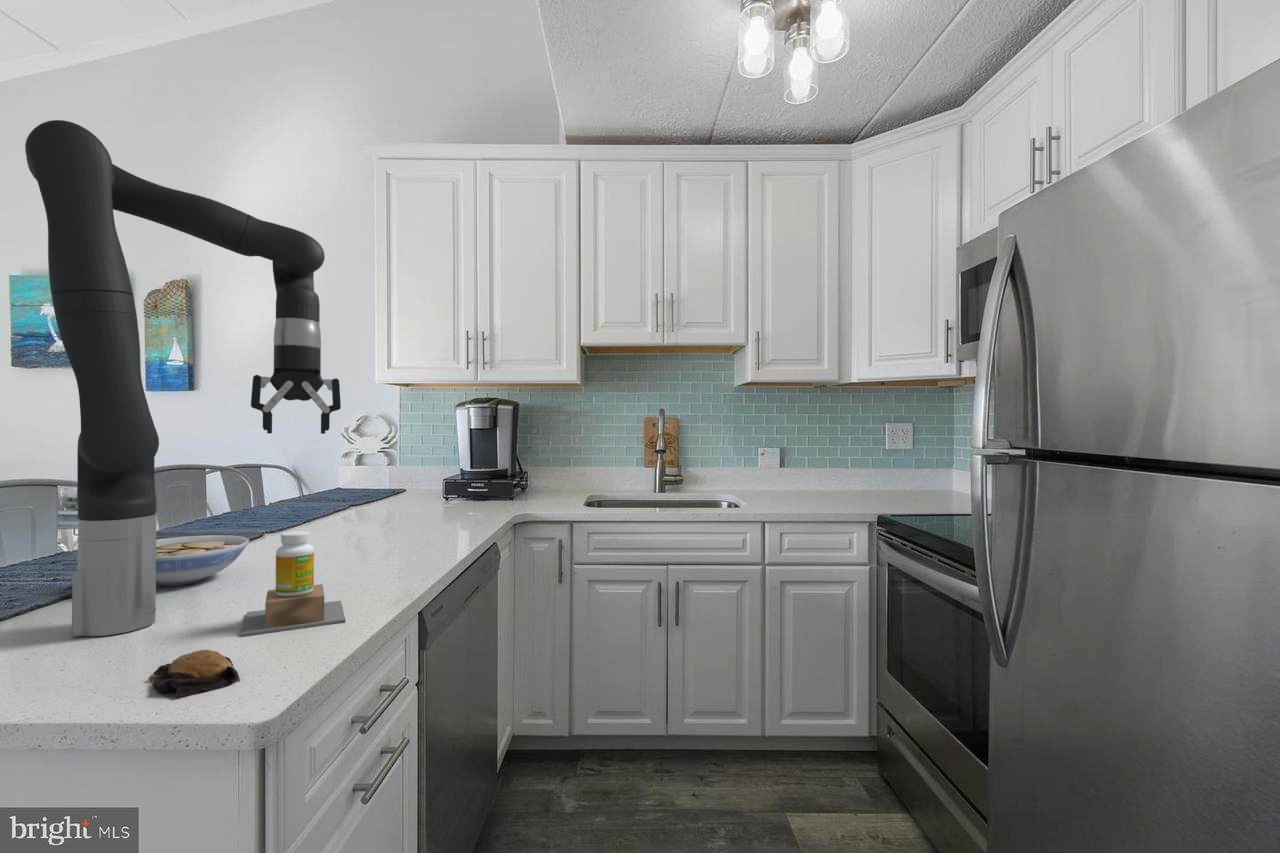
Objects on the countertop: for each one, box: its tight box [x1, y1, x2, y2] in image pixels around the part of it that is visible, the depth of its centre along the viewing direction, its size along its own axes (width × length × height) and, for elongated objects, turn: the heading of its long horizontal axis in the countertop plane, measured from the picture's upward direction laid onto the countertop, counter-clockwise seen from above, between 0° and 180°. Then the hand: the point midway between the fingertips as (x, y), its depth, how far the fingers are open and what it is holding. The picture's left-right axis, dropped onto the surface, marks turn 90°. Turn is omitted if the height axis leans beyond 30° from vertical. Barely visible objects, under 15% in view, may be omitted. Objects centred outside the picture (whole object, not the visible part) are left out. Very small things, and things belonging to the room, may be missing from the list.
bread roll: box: [149, 649, 241, 701], centre depth 74 cm, size 11×8×4 cm
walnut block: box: [264, 583, 325, 629], centre depth 97 cm, size 8×8×4 cm
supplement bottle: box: [275, 530, 315, 597], centre depth 97 cm, size 5×5×10 cm
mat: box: [240, 600, 346, 637], centre depth 98 cm, size 14×12×1 cm
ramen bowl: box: [156, 534, 250, 587], centre depth 120 cm, size 25×23×8 cm
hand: (296, 433), depth 110 cm, fingers open, 8 cm apart
